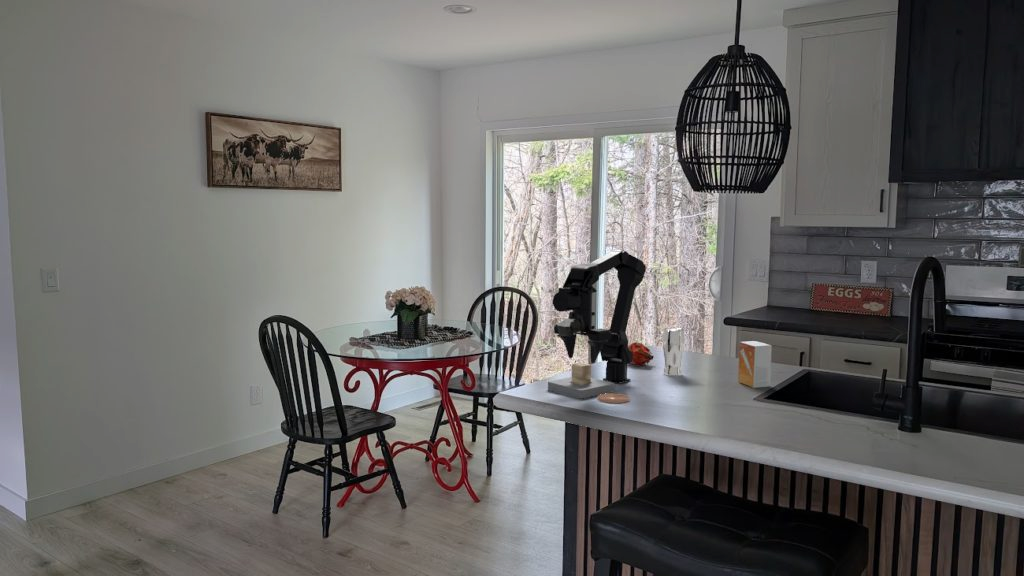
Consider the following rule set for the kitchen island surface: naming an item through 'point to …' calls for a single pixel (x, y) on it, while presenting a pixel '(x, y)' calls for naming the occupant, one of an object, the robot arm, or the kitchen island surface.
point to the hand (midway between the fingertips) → (581, 360)
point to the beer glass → (673, 350)
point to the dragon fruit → (640, 354)
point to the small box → (754, 364)
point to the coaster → (613, 398)
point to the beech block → (581, 373)
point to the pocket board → (581, 387)
